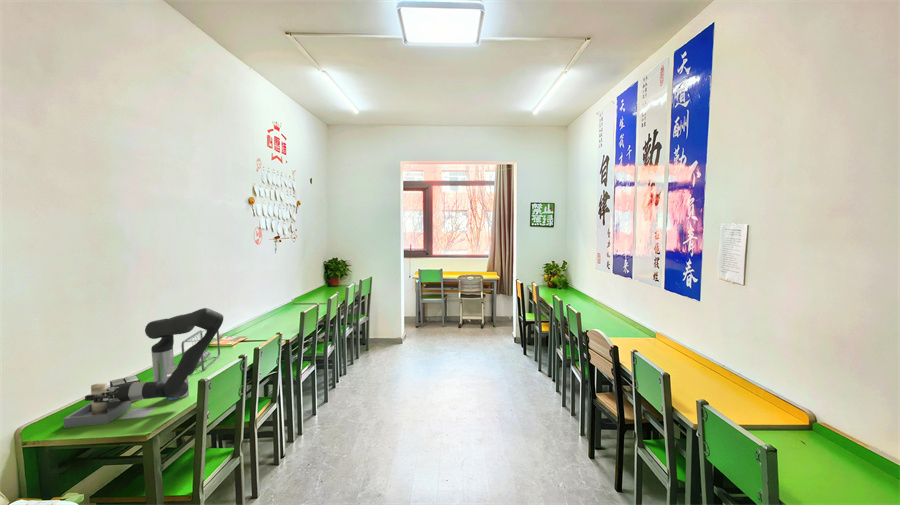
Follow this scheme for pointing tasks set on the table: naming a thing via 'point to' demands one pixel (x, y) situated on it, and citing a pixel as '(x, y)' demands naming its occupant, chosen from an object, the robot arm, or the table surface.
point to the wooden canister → (101, 407)
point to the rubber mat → (137, 413)
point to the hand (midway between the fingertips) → (91, 395)
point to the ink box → (169, 372)
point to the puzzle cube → (126, 380)
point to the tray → (86, 417)
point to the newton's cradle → (205, 349)
